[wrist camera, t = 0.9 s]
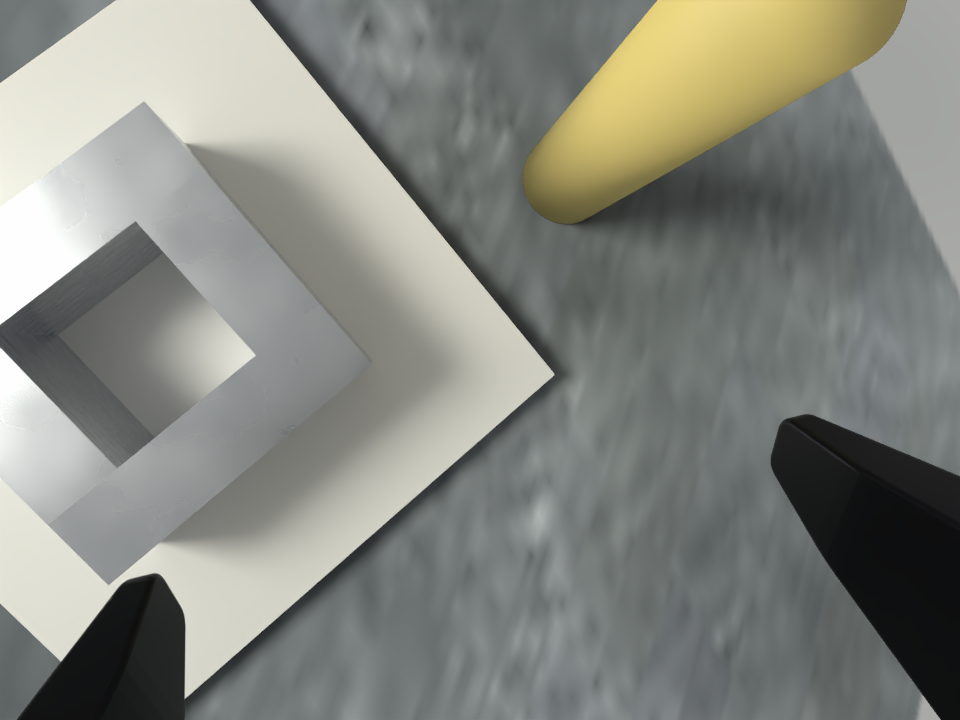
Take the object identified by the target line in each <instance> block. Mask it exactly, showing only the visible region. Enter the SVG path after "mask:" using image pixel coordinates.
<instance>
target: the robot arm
mask: <svg viewBox="0 0 960 720" xmlns="http://www.w3.org/2000/svg"><path fill="white" fill-rule="evenodd" d="M771 466H772V470H773V472H774V474H775V476H776V478H777V480H778V481H779V483H780V485H781V487H782V488H783V490H784V492H785V493H786V495H787V497H788V498H789V500H790V502H791V504H792V505H793V507H794V509H795V510H796V512H797V514H798V516H799V517H800V519H801V521H802V522H803V524H804V526H805V527H806V529H807V531H808V533H809V534H810V536H811V538H812V539H813V541H814V543H815V545H816V546H817V548H818V549H819V551H820V553H821V554H822V556H823V557H824V559H825V560H826V562H827V563H828V565H829V566H830V568H831V569H832V571H833V572H834V573H835V575H836V576H837V578H838V579H839V580H840V582H841V583H842V584H843V586H844V587H845V589H846V590H847V591H848V593H849V594H850V595H851V597H852V598H853V600H854V601H855V602H856V604H857V605H858V606H859V608H860V609H861V611H862V612H863V613H864V615H865V616H866V618H867V619H868V620H869V622H870V623H871V624H872V626H873V627H874V629H875V630H876V631H877V633H878V634H879V635H880V637H881V638H882V640H883V641H884V642H885V644H886V645H887V646H888V648H889V649H890V651H891V652H892V653H893V655H894V656H895V657H896V659H897V660H898V662H899V663H900V664H901V666H902V667H903V668H904V670H905V671H906V673H907V674H908V675H909V677H910V678H911V679H912V681H913V682H914V684H915V685H916V686H917V688H918V689H919V690H920V692H921V693H922V695H923V696H924V697H925V699H926V700H927V701H928V703H929V704H930V706H931V707H932V708H933V710H934V711H935V712H936V714H937V715H938V716H939V718H940V719H941V720H960V476H958V475H956V474H953V473H951V472H948V471H946V470H944V469H941V468H939V467H936V466H934V465H932V464H929V463H927V462H924V461H922V460H920V459H917V458H915V457H912V456H910V455H908V454H905V453H903V452H900V451H898V450H896V449H893V448H891V447H888V446H886V445H884V444H881V443H879V442H876V441H874V440H872V439H869V438H867V437H864V436H862V435H860V434H857V433H855V432H852V431H850V430H848V429H845V428H843V427H840V426H838V425H836V424H833V423H831V422H828V421H826V420H824V419H821V418H819V417H816V416H814V415H809V414H805V415H800V416H796V417H792V418H788V419H785V420H783V421H782V423H781V424H780V426H779V429H778V432H777V436H776V440H775V443H774V447H773V451H772V454H771ZM185 633H186V625H185V617H184V613H183V610H182V608H181V606H180V604H179V602H178V601H177V599H176V597H175V596H174V594H173V592H172V591H171V589H170V587H169V586H168V584H167V583H166V581H165V579H164V578H163V577H162V576H161V575H160V574H158V573H152V574H148V575H143V576H139V577H135V578H131V579H128V580H126V581H124V582H123V583H122V584H121V585H120V586H119V587H118V588H117V589H116V591H115V592H114V593H113V595H112V596H111V597H110V598H109V600H108V601H107V602H106V604H105V605H104V606H103V608H102V609H101V610H100V612H99V613H98V614H97V615H96V617H95V618H94V619H93V621H92V622H91V623H90V625H89V626H88V627H87V629H86V630H85V631H84V632H83V634H82V635H81V636H80V638H79V639H78V640H77V642H76V643H75V644H74V645H73V647H72V648H71V649H70V651H69V652H68V653H67V655H66V656H65V657H64V659H63V660H62V661H61V662H60V664H59V665H58V666H57V668H56V669H55V670H54V672H53V673H52V674H51V676H50V677H49V678H48V679H47V681H46V682H45V683H44V685H43V686H42V687H41V689H40V690H39V691H38V692H37V694H36V695H35V696H34V698H33V699H32V700H31V702H30V703H29V704H28V706H27V707H26V708H25V709H24V711H23V712H22V713H21V715H20V716H19V717H18V719H17V720H184V717H185Z"/></svg>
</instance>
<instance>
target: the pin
mask: <svg viewBox="0 0 960 720" xmlns="http://www.w3.org/2000/svg"><path fill="white" fill-rule="evenodd" d="M906 3H907V0H657V2H656V3H655V4H654V5H653V6H652V8H651V9H650V10H649V11H648V12H647V14H646V15H645V16H644V17H643V18H642V20H641V21H640V22H639V23H638V24H637V26H636V27H635V28H634V29H633V30H632V32H631V33H630V34H629V35H628V36H627V38H626V39H625V40H624V41H623V42H622V44H621V45H620V46H619V47H618V48H617V50H616V51H615V52H614V53H613V54H612V56H611V57H610V58H609V59H608V60H607V62H606V63H605V64H604V65H603V66H602V67H601V69H600V70H599V71H598V72H597V73H596V75H595V76H594V77H593V78H592V79H591V81H590V82H589V83H588V84H587V85H586V87H585V88H584V89H583V90H582V91H581V93H580V94H579V95H578V96H577V97H576V99H575V100H574V101H573V102H572V103H571V105H570V106H569V107H568V108H567V109H566V111H565V112H564V113H563V114H562V115H561V117H560V118H559V119H558V120H557V121H556V123H555V124H554V125H553V126H552V127H551V128H550V130H549V131H548V132H547V133H546V134H545V136H544V137H543V138H542V139H541V140H540V142H539V143H538V144H537V145H536V146H535V148H534V149H533V150H532V151H531V153H530V154H529V156H528V158H527V160H526V162H525V165H524V170H523V187H524V191H525V194H526V197H527V199H528V201H529V203H530V204H531V205H532V207H533V208H534V209H535V210H536V211H537V212H538V213H539V214H540V215H541V216H543V217H544V218H546V219H548V220H550V221H552V222H555V223H560V224H573V223H578V222H581V221H583V220H585V219H587V218H589V217H590V216H592V215H594V214H596V213H597V212H599V211H601V210H603V209H605V208H606V207H608V206H610V205H612V204H613V203H615V202H617V201H619V200H620V199H622V198H624V197H626V196H628V195H629V194H631V193H633V192H635V191H636V190H638V189H640V188H642V187H643V186H645V185H647V184H649V183H650V182H652V181H654V180H656V179H658V178H659V177H661V176H663V175H665V174H666V173H668V172H670V171H672V170H673V169H675V168H677V167H679V166H680V165H682V164H684V163H686V162H688V161H689V160H691V159H693V158H695V157H696V156H698V155H700V154H702V153H703V152H705V151H707V150H709V149H711V148H712V147H714V146H716V145H718V144H719V143H721V142H723V141H725V140H726V139H728V138H730V137H732V136H733V135H735V134H737V133H739V132H741V131H742V130H744V129H746V128H748V127H749V126H751V125H753V124H755V123H756V122H758V121H760V120H762V119H764V118H765V117H767V116H769V115H771V114H772V113H774V112H776V111H778V110H779V109H781V108H783V107H785V106H786V105H788V104H790V103H792V102H794V101H795V100H797V99H799V98H801V97H802V96H804V95H806V94H808V93H809V92H811V91H813V90H815V89H816V88H818V87H820V86H822V85H824V84H825V83H827V82H829V81H831V80H832V79H834V78H836V77H838V76H839V75H841V74H843V73H845V72H847V71H848V70H850V69H852V68H854V67H855V66H857V65H859V64H861V63H862V62H864V61H866V60H868V59H869V58H870V57H872V56H873V55H874V54H876V53H877V52H878V51H879V50H880V49H881V48H882V47H883V46H884V45H885V44H886V43H887V41H888V40H889V39H890V37H891V36H892V35H893V33H894V31H895V30H896V28H897V26H898V24H899V23H900V20H901V18H902V15H903V13H904V10H905V6H906Z"/></svg>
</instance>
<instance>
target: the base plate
mask: <svg viewBox="0 0 960 720" xmlns="http://www.w3.org/2000/svg"><path fill="white" fill-rule="evenodd" d="M144 101H145V102H146V104H147V105H148V106H149V107H150V108H151V109H152V110H153V111H154V112H155V113H156V114H157V115H158V116H159V117H160V118H161V119H162V120H163V121H164V122H165V123H166V124H167V125H168V126H169V127H170V128H171V129H172V130H173V131H174V132H175V133H176V134H177V135H178V136H179V137H180V138H181V139H182V140H183V142H184V143H185V144H186V145H187V146H188V147H189V148H190V149H191V151H192V152H193V153H194V154H195V155H196V156H197V157H198V159H199V160H200V161H201V162H202V163H203V164H204V166H205V167H206V168H207V169H208V170H209V171H210V173H211V174H212V175H213V176H214V177H215V178H216V179H217V181H218V182H219V183H220V184H221V185H222V186H223V188H224V189H225V190H226V191H227V192H228V193H229V195H230V196H231V197H232V198H233V199H234V200H235V201H236V203H237V204H238V205H239V206H240V207H241V208H242V210H243V211H244V212H245V213H246V214H247V215H248V216H249V218H250V219H251V220H252V221H253V222H254V223H255V225H256V226H257V227H258V228H259V229H260V230H261V232H262V233H263V234H264V235H265V236H266V237H267V238H268V240H269V241H270V242H271V243H272V244H273V245H274V247H275V248H276V249H277V250H278V251H279V252H280V254H281V255H282V256H283V257H284V258H285V259H286V260H287V262H288V263H289V264H290V265H291V266H292V267H293V269H294V270H295V271H296V272H297V273H298V274H299V275H300V277H301V278H302V279H303V280H304V281H305V282H306V284H307V285H308V286H309V287H310V288H311V289H312V291H313V292H314V293H315V294H316V295H317V296H318V297H319V299H320V300H321V301H322V302H323V303H324V304H325V306H326V307H327V308H328V309H329V310H330V311H331V313H332V314H333V315H334V316H335V317H336V318H337V319H338V321H339V322H340V323H341V324H342V325H343V326H344V328H345V329H346V330H347V331H348V332H349V333H350V334H351V336H352V337H353V338H354V339H355V340H356V341H357V343H358V344H359V345H360V346H361V347H362V348H363V350H364V351H365V352H366V353H367V354H368V355H369V356H370V358H371V359H372V360H373V361H372V365H371V366H370V367H368V368H367V369H366V370H365V371H364V372H363V373H361V374H360V375H359V376H358V377H357V378H355V379H354V380H353V381H352V382H351V383H349V384H348V385H347V386H346V387H345V388H343V389H342V390H341V391H340V392H339V393H337V394H336V395H335V396H334V397H333V398H332V399H330V400H329V401H328V402H327V403H326V404H324V405H323V406H322V407H321V408H320V409H318V410H317V411H316V412H315V413H314V414H312V415H311V416H310V417H309V418H308V419H306V420H305V421H304V422H303V423H302V424H301V425H299V426H298V427H297V428H296V429H295V430H293V431H292V432H291V433H290V434H289V435H287V436H286V437H285V438H284V439H283V440H281V441H280V442H279V443H278V444H277V445H275V446H274V447H273V448H272V449H271V450H270V451H268V452H267V453H266V454H265V455H264V456H262V457H261V458H260V459H259V460H258V461H256V462H255V463H254V464H253V465H252V466H250V467H249V468H248V469H247V470H246V471H244V472H243V473H242V474H241V475H240V476H239V477H237V478H236V479H235V480H234V481H233V482H231V483H230V484H229V485H228V486H227V487H225V488H224V489H223V490H222V491H221V492H219V493H218V494H217V495H216V496H215V497H213V498H212V499H211V500H210V501H209V502H208V503H206V504H205V505H204V506H203V507H202V508H200V509H199V510H198V511H197V512H196V513H194V514H193V515H192V516H191V517H190V518H188V519H187V520H186V521H185V522H184V523H182V524H181V525H180V526H179V527H178V528H177V529H175V530H174V531H173V532H172V533H171V534H169V535H168V536H167V537H166V538H165V539H163V540H162V541H161V542H160V543H159V544H157V545H156V546H155V547H154V548H153V549H151V550H150V551H149V552H148V553H147V554H146V555H144V556H143V557H142V558H141V559H140V560H138V561H137V562H136V563H135V564H134V565H132V566H131V567H130V568H129V569H128V570H126V571H125V572H124V573H123V574H122V575H120V576H119V577H118V578H117V579H116V580H115V581H113V582H112V583H111V584H110V585H108V584H107V583H106V582H105V581H104V580H103V579H102V578H101V577H100V576H99V575H97V574H96V573H95V572H94V571H93V570H92V569H91V568H90V567H89V566H88V565H87V564H86V563H85V562H84V561H83V560H82V559H81V558H80V557H79V556H78V555H77V554H76V553H75V552H74V551H73V550H72V549H71V548H70V547H69V546H68V545H67V544H66V543H65V542H64V541H63V540H62V539H61V538H60V537H59V536H58V535H57V534H56V533H55V532H54V531H53V530H52V529H51V528H50V527H49V526H48V525H47V524H46V523H45V522H44V521H43V520H42V519H41V518H40V517H39V516H38V515H37V514H36V513H35V512H34V511H33V510H32V509H31V508H30V507H29V506H28V505H27V504H26V503H25V502H24V501H23V500H22V499H21V498H20V497H19V496H18V495H17V494H16V493H15V492H14V491H13V490H12V489H11V488H10V487H9V486H8V485H7V484H6V483H5V482H4V481H3V480H2V479H1V478H0V604H1V605H2V606H4V607H5V608H6V609H7V610H8V611H9V612H10V613H11V614H12V615H13V616H14V617H15V618H16V619H17V620H18V621H19V622H20V623H21V624H22V625H23V626H24V627H25V628H27V629H28V630H29V631H30V632H31V633H32V634H33V635H34V636H35V637H36V638H37V639H38V640H39V641H40V642H41V643H42V644H43V645H44V646H45V647H46V648H47V649H48V650H49V651H51V652H52V653H53V654H54V655H55V656H56V657H57V658H58V659H59V660H60V661H62V660H63V659H64V657H65V656H66V655H67V653H68V652H69V651H70V649H71V648H72V647H73V645H74V644H75V643H76V642H77V640H78V639H79V638H80V636H81V635H82V634H83V632H84V631H85V630H86V629H87V627H88V626H89V625H90V623H91V622H92V621H93V619H94V618H95V617H96V615H97V614H98V613H99V612H100V610H101V609H102V608H103V606H104V605H105V604H106V602H107V601H108V600H109V598H110V597H111V596H112V595H113V593H114V592H115V591H116V589H117V588H118V587H119V586H120V585H121V584H122V583H123V582H124V581H126V580H128V579H131V578H135V577H139V576H143V575H148V574H152V573H158V574H160V575H161V576H162V577H163V578H164V579H165V581H166V583H167V584H168V586H169V587H170V589H171V591H172V592H173V594H174V596H175V597H176V599H177V601H178V602H179V604H180V606H181V608H182V610H183V613H184V617H185V625H186V633H185V698H187V697H188V696H189V695H190V694H191V693H192V692H193V691H195V690H196V689H197V688H198V687H199V686H200V685H201V684H203V683H204V682H205V681H206V680H207V679H208V678H209V677H211V676H212V675H213V674H214V673H215V672H216V671H217V670H218V669H220V668H221V667H222V666H223V665H224V664H225V663H226V662H228V661H229V660H230V659H231V658H232V657H233V656H234V655H236V654H237V653H238V652H239V651H240V650H241V649H242V648H244V647H245V646H246V645H247V644H248V643H249V642H250V641H252V640H253V639H254V638H255V637H256V636H257V635H258V634H260V633H261V632H262V631H263V630H264V629H265V628H266V627H268V626H269V625H270V624H271V623H272V622H273V621H274V620H276V619H277V618H278V617H279V616H280V615H281V614H282V613H284V612H285V611H286V610H287V609H288V608H289V607H290V606H291V605H293V604H294V603H295V602H296V601H297V600H298V599H299V598H301V597H302V596H303V595H304V594H305V593H306V592H307V591H309V590H310V589H311V588H312V587H313V586H314V585H315V584H317V583H318V582H319V581H320V580H321V579H322V578H323V577H325V576H326V575H327V574H328V573H329V572H330V571H331V570H333V569H334V568H335V567H336V566H337V565H338V564H339V563H341V562H342V561H343V560H344V559H345V558H346V557H347V556H349V555H350V554H351V553H352V552H353V551H354V550H355V549H357V548H358V547H359V546H360V545H361V544H362V543H363V542H364V541H366V540H367V539H368V538H369V537H370V536H371V535H372V534H374V533H375V532H376V531H377V530H378V529H379V528H380V527H382V526H383V525H384V524H385V523H386V522H387V521H388V520H390V519H391V518H392V517H393V516H394V515H395V514H396V513H398V512H399V511H400V510H401V509H402V508H403V507H404V506H406V505H407V504H408V503H409V502H410V501H411V500H412V499H414V498H415V497H416V496H417V495H418V494H419V493H420V492H422V491H423V490H424V489H425V488H426V487H427V486H428V485H430V484H431V483H432V482H433V481H434V480H435V479H436V478H438V477H439V476H440V475H441V474H442V473H443V472H444V471H445V470H447V469H448V468H449V467H450V466H451V465H452V464H453V463H455V462H456V461H457V460H458V459H459V458H460V457H461V456H463V455H464V454H465V453H466V452H467V451H468V450H469V449H471V448H472V447H473V446H474V445H475V444H476V443H477V442H479V441H480V440H481V439H482V438H483V437H484V436H485V435H487V434H488V433H489V432H490V431H491V430H492V429H493V428H495V427H496V426H497V425H498V424H499V423H500V422H501V421H503V420H504V419H505V418H506V417H507V416H508V415H509V414H511V413H512V412H513V411H514V410H515V409H516V408H517V407H518V406H520V405H521V404H522V403H523V402H524V401H525V400H526V399H528V398H529V397H530V396H531V395H532V394H533V393H534V392H536V391H537V390H538V389H539V388H540V387H541V386H542V385H544V384H545V383H546V382H547V381H548V380H549V379H550V378H552V377H553V376H554V375H555V374H554V373H553V372H552V370H551V369H550V368H549V367H548V365H547V364H546V363H545V362H544V361H543V359H542V358H541V357H540V356H539V354H538V353H537V352H536V351H535V350H534V348H533V347H532V346H531V345H530V343H529V342H528V341H527V340H526V338H525V337H524V336H523V335H522V334H521V332H520V331H519V330H518V329H517V327H516V326H515V325H514V324H513V323H512V321H511V320H510V319H509V318H508V316H507V315H506V314H505V313H504V312H503V310H502V309H501V308H500V307H499V305H498V304H497V303H496V302H495V300H494V299H493V298H492V297H491V296H490V294H489V293H488V292H487V291H486V289H485V288H484V287H483V286H482V285H481V283H480V282H479V281H478V280H477V278H476V277H475V276H474V275H473V273H472V272H471V271H470V270H469V269H468V267H467V266H466V265H465V264H464V262H463V261H462V260H461V259H460V258H459V256H458V255H457V254H456V253H455V251H454V250H453V249H452V248H451V246H450V245H449V244H448V243H447V242H446V240H445V239H444V238H443V237H442V235H441V234H440V233H439V232H438V231H437V229H436V228H435V227H434V226H433V224H432V223H431V222H430V221H429V220H428V218H427V217H426V216H425V215H424V213H423V212H422V211H421V210H420V208H419V207H418V206H417V205H416V204H415V202H414V201H413V200H412V199H411V197H410V196H409V195H408V194H407V193H406V191H405V190H404V189H403V188H402V186H401V185H400V184H399V183H398V181H397V180H396V179H395V178H394V177H393V175H392V174H391V173H390V172H389V170H388V169H387V168H386V167H385V166H384V164H383V163H382V162H381V161H380V159H379V158H378V157H377V156H376V155H375V153H374V152H373V151H372V150H371V148H370V147H369V146H368V145H367V143H366V142H365V141H364V140H363V139H362V137H361V136H360V135H359V134H358V132H357V131H356V130H355V129H354V128H353V126H352V125H351V124H350V123H349V121H348V120H347V119H346V118H345V116H344V115H343V114H342V113H341V112H340V110H339V109H338V108H337V107H336V105H335V104H334V103H333V102H332V101H331V99H330V98H329V97H328V96H327V94H326V93H325V92H324V91H323V89H322V88H321V87H320V86H319V85H318V83H317V82H316V81H315V80H314V78H313V77H312V76H311V75H310V74H309V72H308V71H307V70H306V69H305V67H304V66H303V65H302V64H301V63H300V61H299V60H298V59H297V58H296V56H295V55H294V54H293V53H292V51H291V50H290V49H289V48H288V47H287V45H286V44H285V43H284V42H283V40H282V39H281V38H280V37H279V36H278V34H277V33H276V32H275V31H274V29H273V28H272V27H271V26H270V24H269V23H268V22H267V21H266V20H265V18H264V17H263V16H262V15H261V13H260V12H259V11H258V10H257V9H256V7H255V6H254V5H253V4H252V2H251V1H250V0H116V1H114V2H113V3H112V4H110V5H109V6H107V7H106V8H105V9H103V10H102V11H100V12H99V13H98V14H96V15H95V16H93V17H92V18H91V19H89V20H88V21H86V22H85V23H84V24H82V25H81V26H79V27H78V28H77V29H75V30H74V31H72V32H71V33H70V34H68V35H67V36H65V37H64V38H63V39H61V40H60V41H58V42H57V43H56V44H54V45H53V46H52V47H50V48H49V49H47V50H46V51H45V52H43V53H42V54H40V55H39V56H38V57H36V58H35V59H33V60H32V61H31V62H29V63H28V64H26V65H25V66H24V67H22V68H21V69H19V70H18V71H17V72H15V73H14V74H12V75H11V76H10V77H8V78H7V79H5V80H4V81H3V82H1V83H0V208H1V207H2V206H3V205H5V204H6V203H8V202H9V201H10V200H12V199H13V198H14V197H16V196H17V195H18V194H20V193H21V192H22V191H24V190H25V189H26V188H28V187H29V186H30V185H32V184H33V183H34V182H36V181H37V180H38V179H40V178H41V177H43V176H44V175H45V174H47V173H48V172H49V171H51V170H52V169H53V168H55V167H56V166H57V165H59V164H60V163H61V162H63V161H64V160H65V159H67V158H68V157H69V156H71V155H72V154H74V153H75V152H76V151H78V150H79V149H80V148H82V147H83V146H84V145H86V144H87V143H88V142H90V141H91V140H92V139H94V138H95V137H96V136H98V135H99V134H100V133H102V132H103V131H105V130H106V129H107V128H109V127H110V126H111V125H113V124H114V123H115V122H117V121H118V120H119V119H121V118H122V117H123V116H125V115H126V114H127V113H129V112H130V111H131V110H133V109H134V108H136V107H137V106H138V105H140V104H141V103H142V102H144ZM58 336H59V337H60V338H61V339H62V340H63V341H64V342H65V343H66V344H67V345H68V346H69V348H70V349H71V350H72V351H73V352H74V353H75V354H76V355H77V356H78V357H79V358H80V359H81V360H82V361H83V362H84V363H85V364H86V365H87V367H88V368H89V369H90V370H91V371H92V372H93V373H94V374H95V375H96V376H97V377H98V378H99V379H100V380H101V381H102V382H103V383H104V384H105V385H106V387H107V388H108V389H109V390H110V391H111V392H112V393H113V394H114V395H115V396H116V397H117V398H118V399H119V400H120V401H121V402H122V403H123V404H124V406H125V407H126V408H127V409H128V410H129V411H130V412H131V413H132V414H133V415H134V416H135V417H136V418H137V419H138V420H139V421H140V422H141V423H142V425H143V426H144V427H145V428H146V429H147V430H148V431H149V432H150V433H151V434H152V435H153V436H154V437H156V436H158V435H159V434H160V433H161V432H163V431H164V430H165V429H166V428H167V427H169V426H170V425H171V424H172V423H174V422H175V421H176V420H177V419H178V418H180V417H181V416H182V415H183V414H185V413H186V412H187V411H188V410H190V409H191V408H192V407H193V406H194V405H196V404H197V403H198V402H199V401H201V400H202V399H203V398H204V397H205V396H207V395H208V394H209V393H210V392H212V391H213V390H214V389H215V388H216V387H218V386H219V385H220V384H221V383H223V382H224V381H225V380H226V379H228V378H229V377H230V376H231V375H232V374H234V373H235V372H236V371H237V370H239V369H240V368H241V367H242V366H243V365H245V364H246V363H247V362H248V361H250V360H251V359H252V358H253V357H255V356H256V355H255V354H254V353H253V352H252V350H251V349H250V348H249V347H248V346H247V345H246V344H245V343H244V342H243V340H242V339H241V338H240V337H239V336H238V335H237V334H236V333H235V332H234V330H233V329H232V328H231V327H230V326H229V325H228V324H227V323H226V321H225V320H224V319H223V318H222V317H221V316H220V315H219V314H218V313H217V311H216V310H215V309H214V308H213V307H212V306H211V305H210V304H209V303H208V301H207V300H206V299H205V298H204V297H203V296H202V295H201V294H200V292H199V291H198V290H197V289H196V288H195V287H194V286H193V285H192V284H191V282H190V281H189V280H188V279H187V278H186V277H185V276H184V275H183V274H182V272H181V271H180V270H179V269H178V268H177V267H176V266H175V265H174V263H173V262H172V261H171V260H170V259H169V258H168V257H167V256H166V255H165V253H163V254H161V255H160V256H159V257H158V258H156V259H155V260H154V261H152V262H151V263H150V264H149V265H147V266H146V267H145V268H143V269H142V270H141V271H140V272H138V273H137V274H136V275H134V276H133V277H132V278H131V279H129V280H128V281H127V282H125V283H124V284H123V285H122V286H120V287H119V288H118V289H116V290H115V291H114V292H113V293H111V294H110V295H109V296H107V297H106V298H105V299H104V300H102V301H101V302H100V303H98V304H97V305H96V306H95V307H93V308H92V309H91V310H89V311H88V312H87V313H86V314H84V315H83V316H82V317H80V318H79V319H78V320H77V321H75V322H74V323H73V324H71V325H70V326H69V327H68V328H66V329H65V330H64V331H62V332H61V333H60V334H59V335H58Z"/></svg>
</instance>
